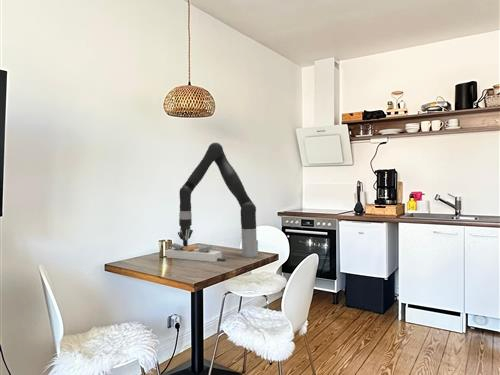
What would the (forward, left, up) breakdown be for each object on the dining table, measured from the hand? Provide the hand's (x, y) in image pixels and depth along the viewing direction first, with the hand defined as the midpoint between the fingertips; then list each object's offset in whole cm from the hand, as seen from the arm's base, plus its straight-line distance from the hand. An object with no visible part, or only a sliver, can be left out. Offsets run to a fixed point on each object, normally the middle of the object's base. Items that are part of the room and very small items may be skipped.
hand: (185, 246), depth 225 cm
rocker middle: (-4, 0, -2) cm, 4 cm away
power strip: (-7, 0, -7) cm, 10 cm away
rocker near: (-15, 0, -2) cm, 15 cm away
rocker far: (+7, 0, -2) cm, 7 cm away
